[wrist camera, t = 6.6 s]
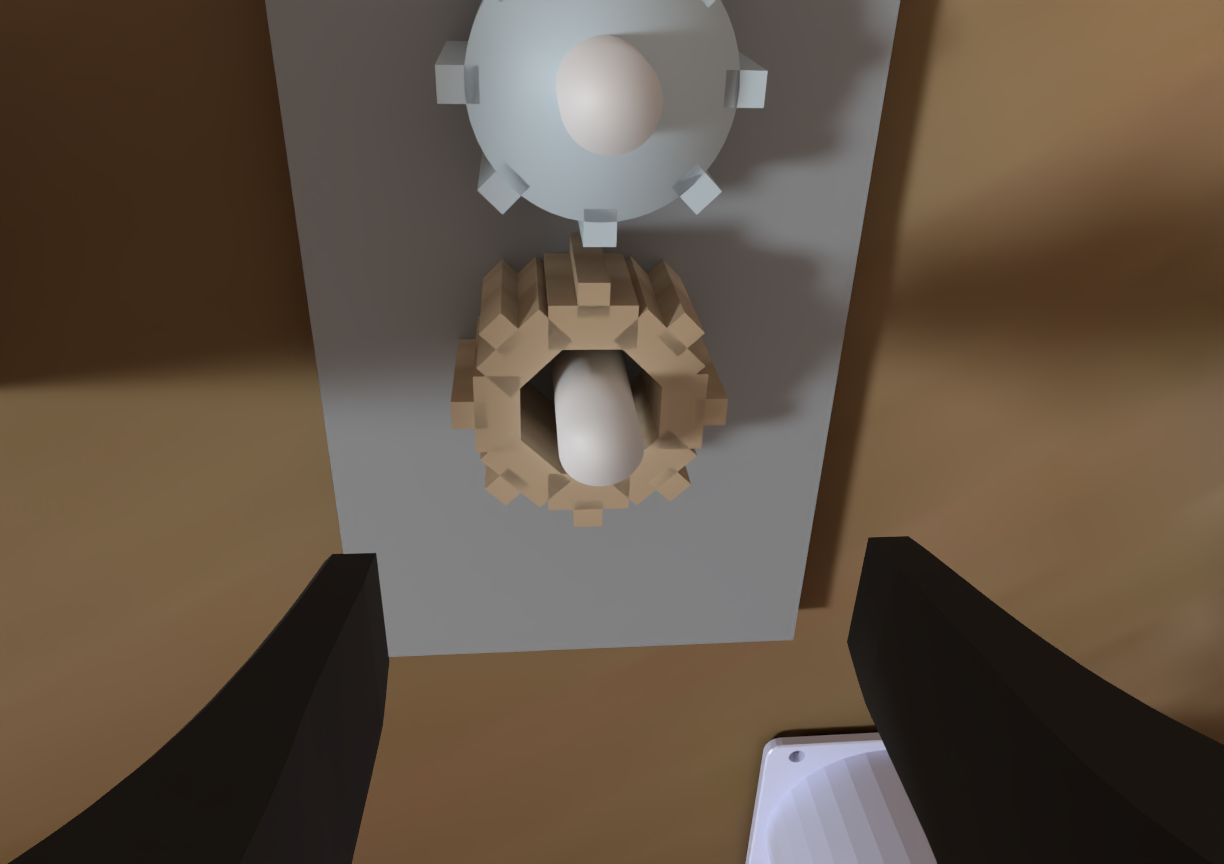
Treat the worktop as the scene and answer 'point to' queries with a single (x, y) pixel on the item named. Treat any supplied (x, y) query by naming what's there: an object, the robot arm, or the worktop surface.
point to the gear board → (541, 223)
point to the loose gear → (584, 320)
